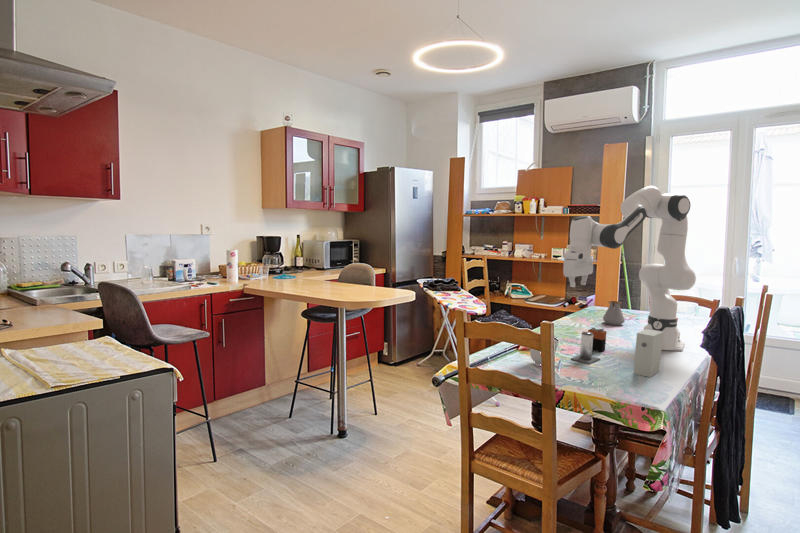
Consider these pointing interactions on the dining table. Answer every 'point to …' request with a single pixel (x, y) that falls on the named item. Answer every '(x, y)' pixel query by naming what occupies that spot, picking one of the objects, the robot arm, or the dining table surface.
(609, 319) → the coffee pot
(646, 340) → the control box
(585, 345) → the can
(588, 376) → the dining table surface
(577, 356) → the mat
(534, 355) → the teacup
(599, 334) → the battery
